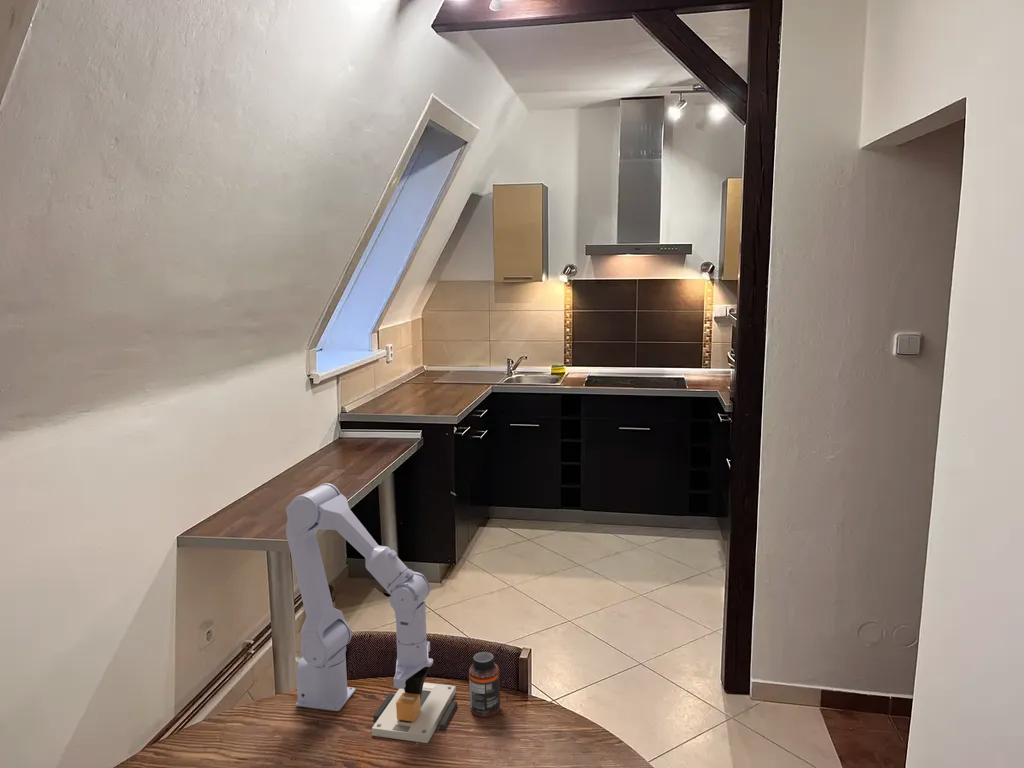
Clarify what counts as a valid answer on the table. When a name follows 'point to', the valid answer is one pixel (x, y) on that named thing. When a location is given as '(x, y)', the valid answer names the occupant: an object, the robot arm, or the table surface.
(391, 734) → the panel
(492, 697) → the supplement bottle
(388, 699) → the twin dark grey rails
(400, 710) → the orange cube
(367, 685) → the table surface
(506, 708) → the table surface
